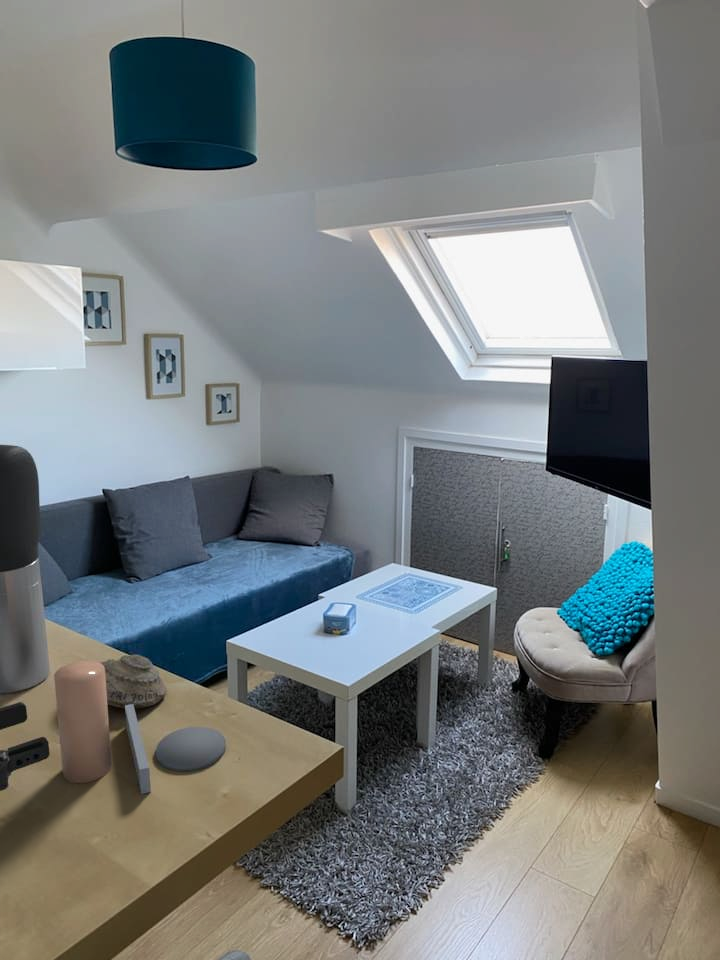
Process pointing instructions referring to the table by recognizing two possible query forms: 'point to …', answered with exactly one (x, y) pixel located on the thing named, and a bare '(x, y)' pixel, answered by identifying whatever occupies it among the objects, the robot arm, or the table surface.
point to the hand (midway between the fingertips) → (36, 727)
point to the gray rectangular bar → (137, 749)
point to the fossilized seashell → (132, 682)
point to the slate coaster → (190, 748)
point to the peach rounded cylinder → (83, 721)
